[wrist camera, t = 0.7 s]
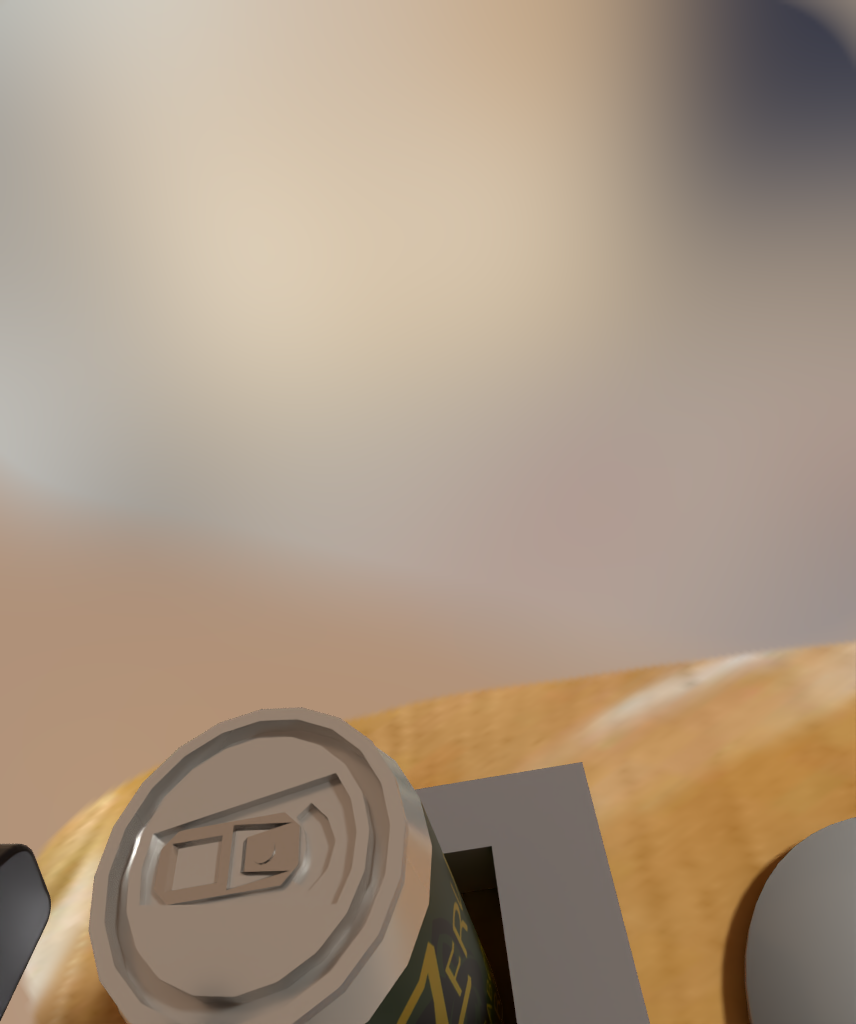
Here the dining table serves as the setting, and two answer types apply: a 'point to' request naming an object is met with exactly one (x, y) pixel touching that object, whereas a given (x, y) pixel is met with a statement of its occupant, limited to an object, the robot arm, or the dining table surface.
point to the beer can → (284, 888)
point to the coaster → (806, 935)
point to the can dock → (543, 891)
